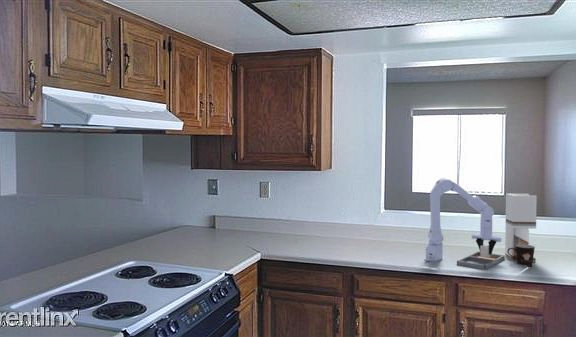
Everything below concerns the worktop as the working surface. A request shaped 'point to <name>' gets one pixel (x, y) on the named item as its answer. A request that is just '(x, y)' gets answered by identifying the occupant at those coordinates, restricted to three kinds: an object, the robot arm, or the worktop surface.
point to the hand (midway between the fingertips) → (486, 253)
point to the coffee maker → (519, 221)
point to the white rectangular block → (484, 251)
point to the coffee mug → (524, 254)
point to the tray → (480, 261)
